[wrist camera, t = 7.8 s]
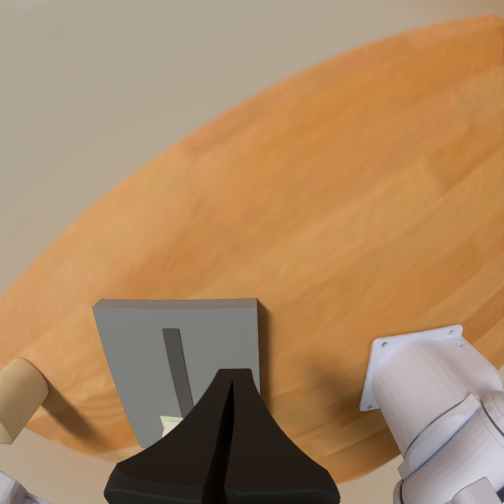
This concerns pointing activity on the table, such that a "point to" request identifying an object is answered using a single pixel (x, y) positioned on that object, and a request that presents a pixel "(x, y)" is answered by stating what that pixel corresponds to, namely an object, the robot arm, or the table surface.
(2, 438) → the candle
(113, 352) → the slider board
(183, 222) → the table surface
